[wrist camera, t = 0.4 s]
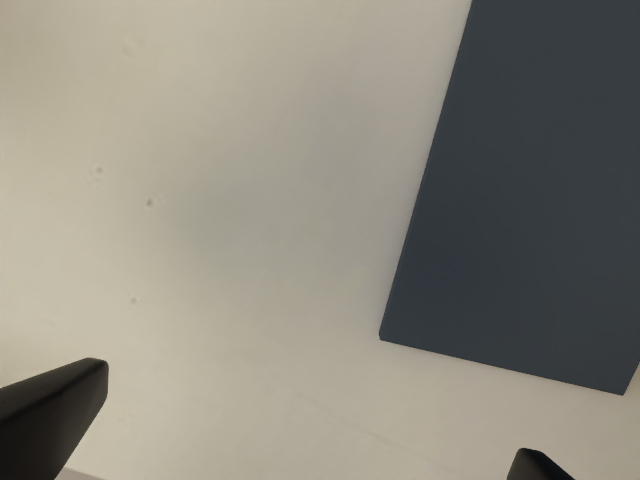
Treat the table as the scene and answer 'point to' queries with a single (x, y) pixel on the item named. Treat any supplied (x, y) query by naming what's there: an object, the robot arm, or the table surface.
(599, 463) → the table surface
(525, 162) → the scrub mat
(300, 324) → the table surface
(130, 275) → the table surface
